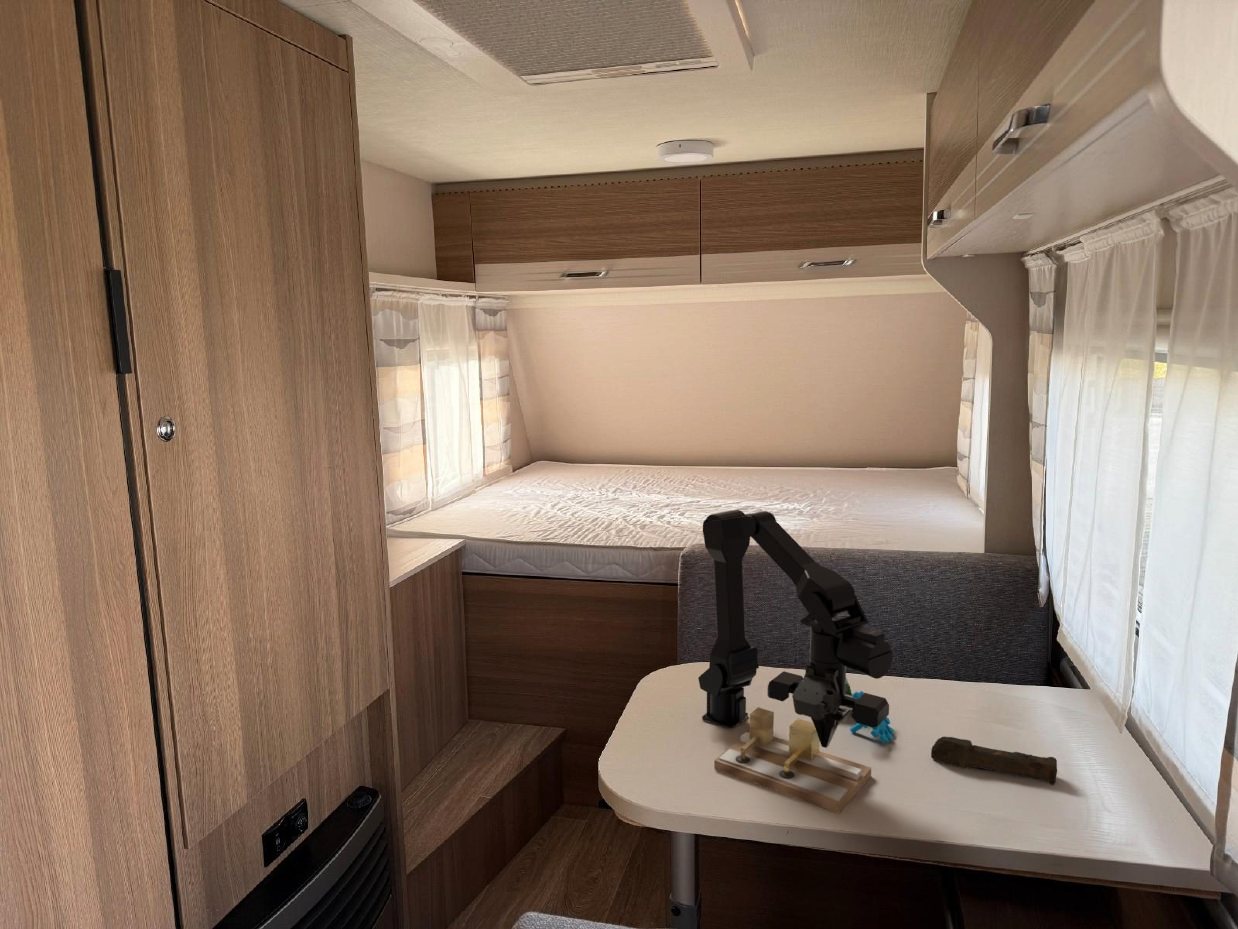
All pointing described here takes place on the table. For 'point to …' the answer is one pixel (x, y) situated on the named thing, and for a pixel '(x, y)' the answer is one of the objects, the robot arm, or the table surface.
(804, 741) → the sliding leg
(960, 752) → the hand tool
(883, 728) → the gear
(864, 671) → the robot arm
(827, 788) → the wooden base with blocks
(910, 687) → the table surface
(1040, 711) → the table surface
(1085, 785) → the table surface
